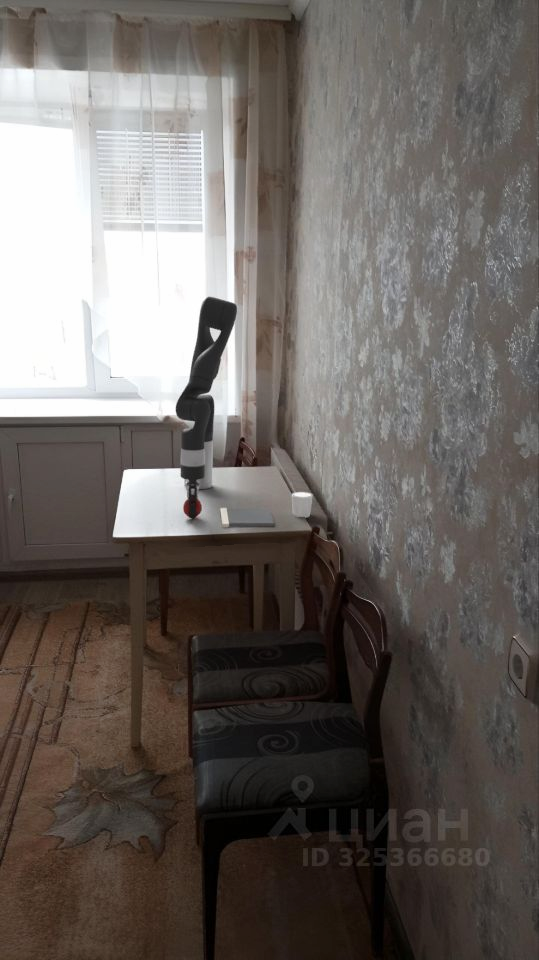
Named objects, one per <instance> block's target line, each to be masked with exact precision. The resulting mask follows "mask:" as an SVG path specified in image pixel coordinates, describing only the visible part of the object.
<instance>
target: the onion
mask: <svg viewBox="0 0 539 960" xmlns="http://www.w3.org/2000/svg"><path fill="white" fill-rule="evenodd" d="M190 502H195V500H194V499H191V500H190ZM188 503H189V499H186V500H185V501H184V503H183V507H182V508H183V512H184V514H185V515H186V516H187V517H188V518H189V505H188ZM202 511H203V506H202V502H201V501H200V500H199V498H198V499H197V506H196V518H197V517H199V515H200V514H201V512H202ZM190 519H191V520H194V519H195V518H190Z"/></svg>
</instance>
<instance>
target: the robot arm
mask: <svg viewBox="0 0 539 960" xmlns="http://www.w3.org/2000/svg"><path fill="white" fill-rule="evenodd" d="M237 314H238V306H237V304H235V303H234V302H231V301H227V300H224V299H221V298H217V297H214V296H206V297H205V298H203V300H202V303H201V306H200V310H199V316H198V325H197V326H198V327H197V337H196V341H195V347H194V351H193V356H192V360H191V365H190V371H189V372H190V374H189V378H188V379H189V380H188V383H187V384H186V386H185V388H184V390H183V391H182V392H181V394H180V395H179V398H178V399H177V401H176V405H175V414H176V416H177V417H178V419H180V420H182V421H188V422H194V424H193V427H189V428H188V427H187V428H184V429H183V430H182V432H181V437H180V438H181V442H180V443H181V449H180V477H181V479H183V480H184V482H183V483H184V486H185V487H186V489H185V490H186V498H187V499H189V503H188V505H189V517H188V518H189V519H191V518H194V519H196V518H197V517H196V506H197V499H198V500H199V490H206V489H211V488H212V487H213V459H214V457H213V456H214V455H213V453H214V451H213V447H214V439H213V438H214V419H215V401H214V397H213V396H212V395H211V394H208V393H210V392H211V389H212V386H213V382H214V380H215V379H216V377H217V376H218V374H219V370H220V366H221V363H222V362H221V361H222V356H223V353H224V351H225V349H226V346H227V344H228V342H229V339H230V336H231V333H232V332H233V328H234V325H235V322H236V318H237ZM211 329H213V330H217V331H220V332H219V335H218V337H217V338H216V339H214V338H213V336H212V333H211ZM187 499H186V500H187ZM191 499H194V500H195V502H190V500H191Z"/></svg>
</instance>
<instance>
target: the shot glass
mask: <svg viewBox="0 0 539 960" xmlns="http://www.w3.org/2000/svg"><path fill="white" fill-rule="evenodd" d="M313 497H314V494H313V493H311V492H307V491H297V492H296V491H295V492H293V493H291V504H292V515H293V514H294V515H297V516H304V517H305V518H309V517H310V516H311V512H312V511H311V510H312V503H313ZM305 518H304V519H305Z"/></svg>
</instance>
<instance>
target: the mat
mask: <svg viewBox="0 0 539 960" xmlns="http://www.w3.org/2000/svg"><path fill="white" fill-rule="evenodd" d="M219 508H220V510H219V511H220V512H219V513H220V518H221V519H220V520H221V527H222V528H230V527H274V526H275V522H274V519H273V515H272V512H271V510H270V508H248V509H247V508H245V509H244V508H243V509H242V508H241V509H240V508H238V509H237V508H233V509H232V508H227V507H219Z"/></svg>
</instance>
